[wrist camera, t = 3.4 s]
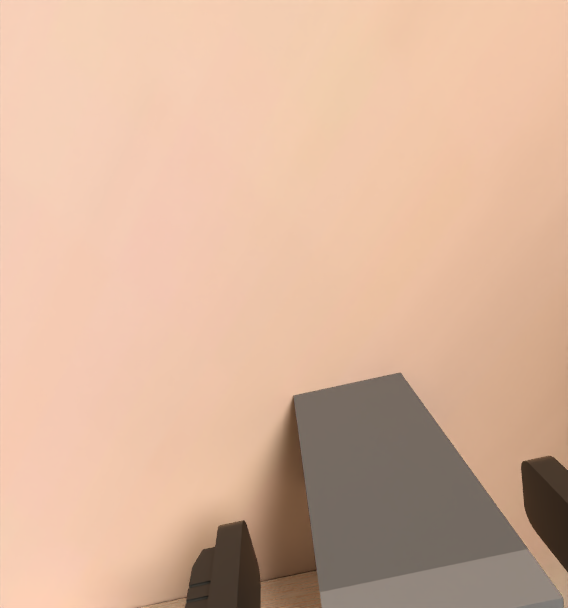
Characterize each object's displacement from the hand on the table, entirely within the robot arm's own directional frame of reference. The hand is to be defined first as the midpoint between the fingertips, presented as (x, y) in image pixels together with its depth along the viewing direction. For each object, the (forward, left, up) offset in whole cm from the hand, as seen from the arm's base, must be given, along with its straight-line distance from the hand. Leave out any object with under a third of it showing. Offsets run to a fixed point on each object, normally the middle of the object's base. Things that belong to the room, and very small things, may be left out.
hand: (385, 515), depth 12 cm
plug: (0, 0, -4) cm, 4 cm away
